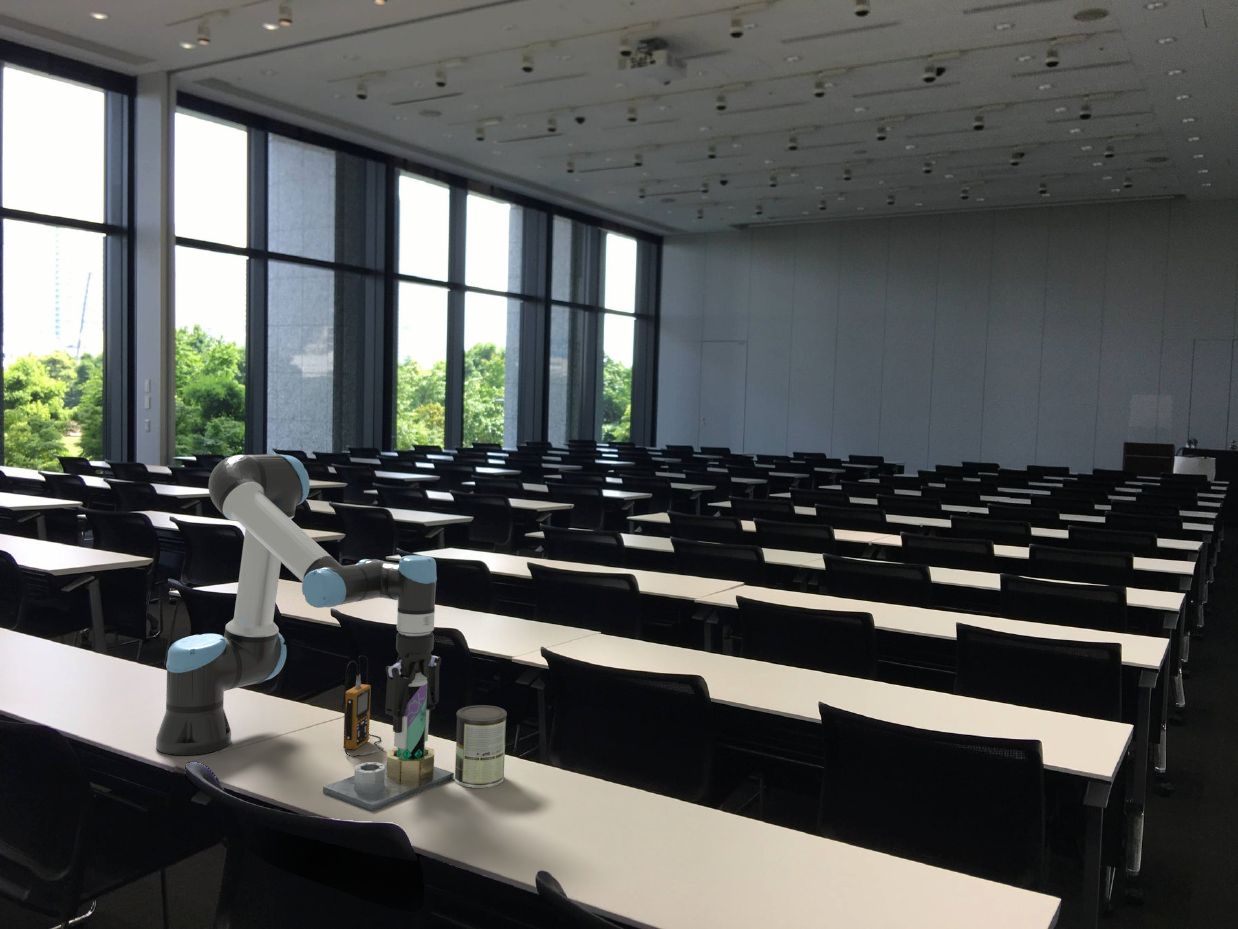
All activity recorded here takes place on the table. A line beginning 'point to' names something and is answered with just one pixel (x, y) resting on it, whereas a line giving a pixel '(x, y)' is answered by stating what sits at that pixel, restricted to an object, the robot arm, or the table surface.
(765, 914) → the table surface
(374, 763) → the fitting plate
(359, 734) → the multimeter
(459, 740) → the coffee can
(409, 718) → the spray can
